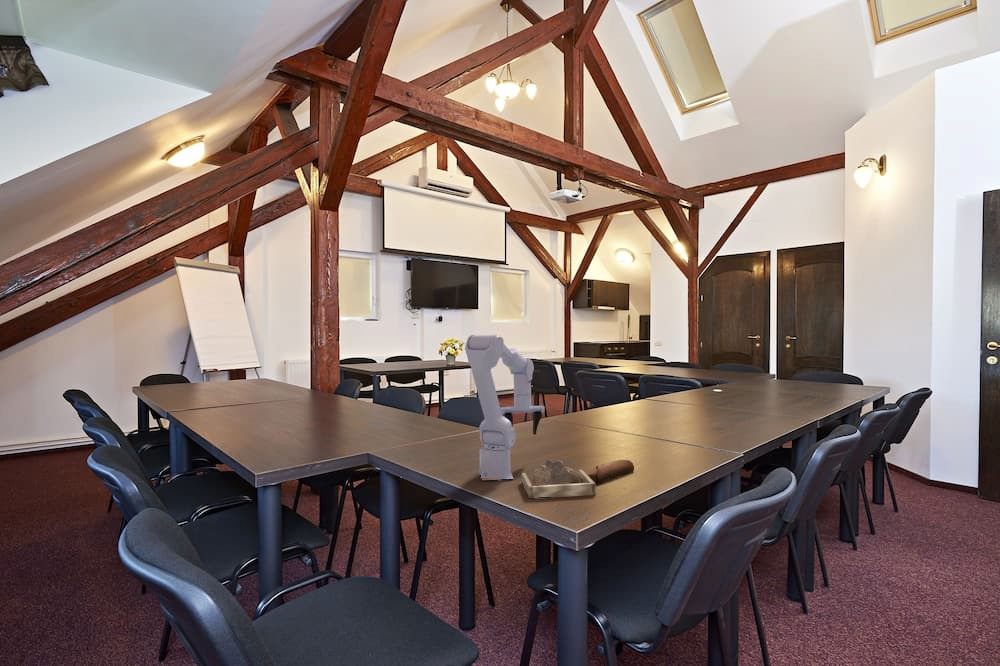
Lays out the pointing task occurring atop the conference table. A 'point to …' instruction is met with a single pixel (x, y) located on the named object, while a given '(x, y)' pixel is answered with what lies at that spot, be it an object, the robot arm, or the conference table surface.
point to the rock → (554, 474)
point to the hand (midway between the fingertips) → (523, 434)
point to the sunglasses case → (610, 470)
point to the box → (561, 488)
